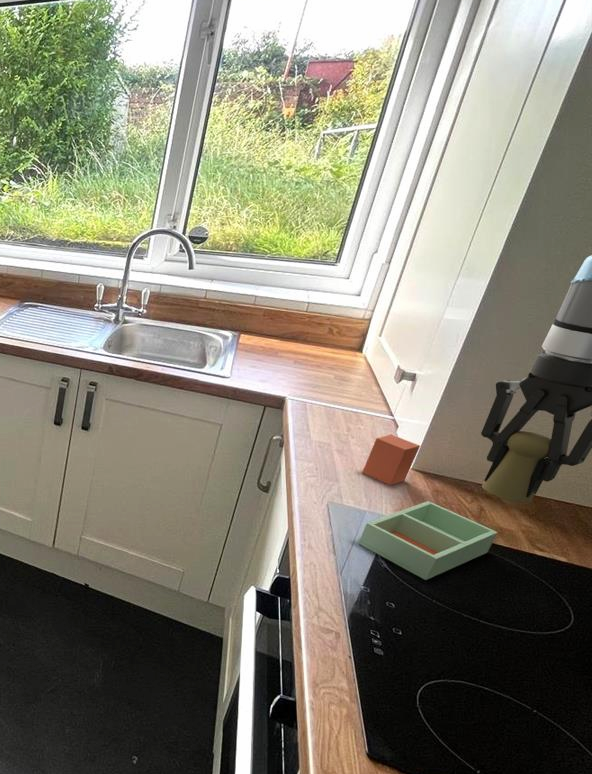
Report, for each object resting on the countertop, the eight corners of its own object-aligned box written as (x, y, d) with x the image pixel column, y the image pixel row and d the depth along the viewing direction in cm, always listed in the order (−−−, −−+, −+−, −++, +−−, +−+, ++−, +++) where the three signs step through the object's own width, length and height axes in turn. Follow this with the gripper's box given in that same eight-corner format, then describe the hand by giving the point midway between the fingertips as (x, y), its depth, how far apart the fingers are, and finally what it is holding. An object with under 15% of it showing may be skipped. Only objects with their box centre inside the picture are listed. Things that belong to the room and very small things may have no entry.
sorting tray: (419, 520, 103) (428, 500, 101) (487, 552, 95) (498, 532, 94) (357, 543, 96) (366, 522, 95) (425, 580, 88) (436, 558, 87)
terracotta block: (404, 480, 116) (420, 445, 112) (389, 485, 114) (405, 449, 111) (376, 468, 120) (390, 434, 117) (361, 472, 118) (376, 438, 115)
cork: (482, 493, 98) (510, 434, 94) (480, 479, 102) (508, 423, 98) (534, 507, 94) (566, 447, 90) (530, 493, 98) (560, 435, 94)
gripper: (672, 372, 83) (593, 510, 92) (513, 338, 98) (457, 459, 106) (651, 378, 80) (571, 520, 89) (490, 342, 95) (435, 467, 103)
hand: (509, 487), depth 97 cm, fingers closed on cork, 4 cm apart
